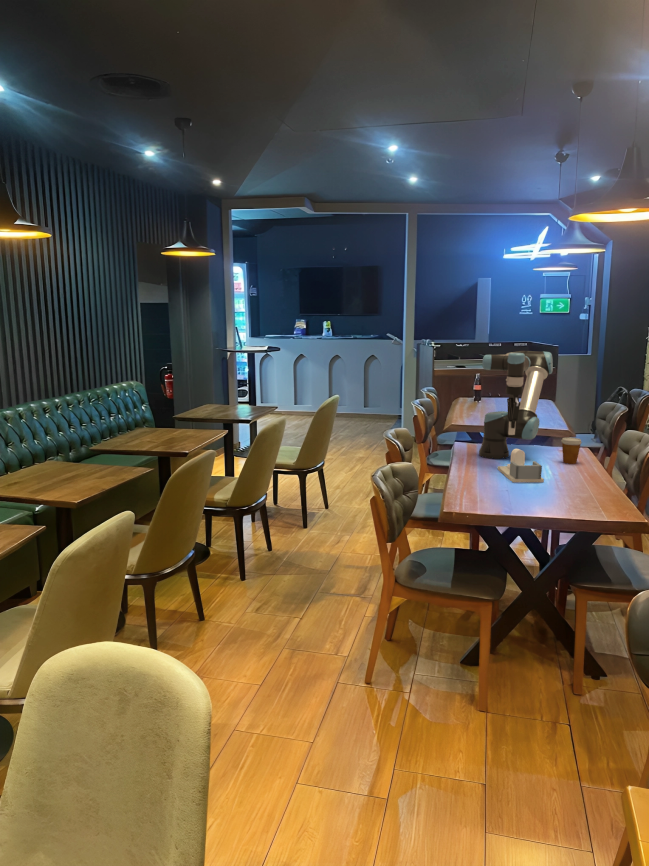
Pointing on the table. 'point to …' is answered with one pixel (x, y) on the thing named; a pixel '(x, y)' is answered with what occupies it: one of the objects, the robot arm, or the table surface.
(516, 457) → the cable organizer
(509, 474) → the dock
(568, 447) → the disposable coffee cup
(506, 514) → the table surface
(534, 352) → the robot arm
